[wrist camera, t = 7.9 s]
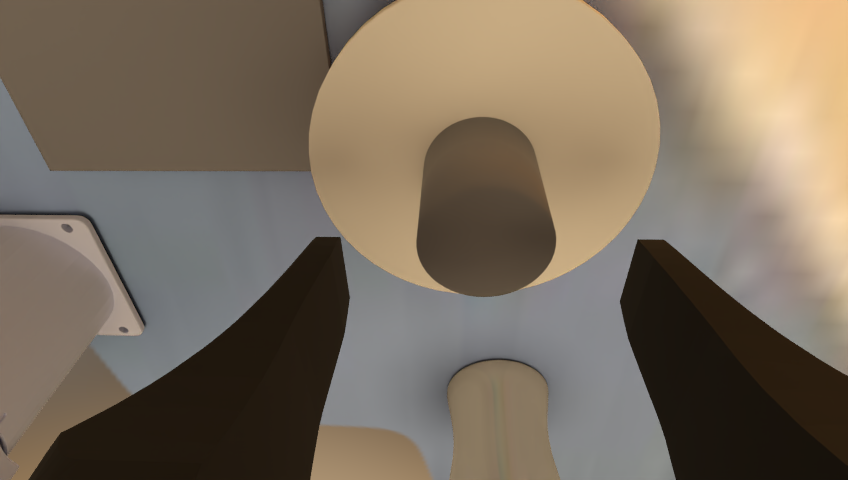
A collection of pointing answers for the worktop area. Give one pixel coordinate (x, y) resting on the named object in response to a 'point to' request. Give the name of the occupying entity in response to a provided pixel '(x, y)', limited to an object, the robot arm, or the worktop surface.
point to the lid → (483, 140)
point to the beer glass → (500, 423)
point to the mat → (166, 81)
